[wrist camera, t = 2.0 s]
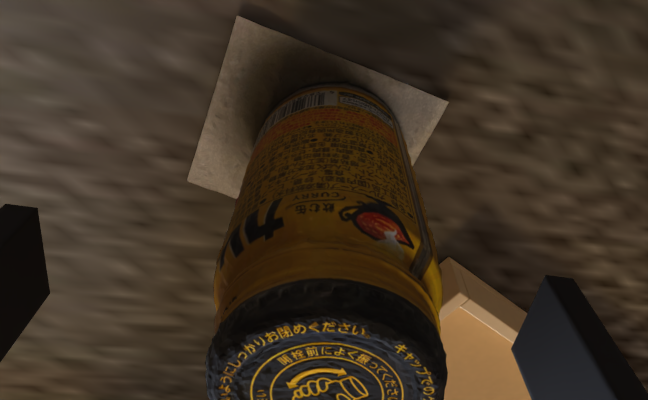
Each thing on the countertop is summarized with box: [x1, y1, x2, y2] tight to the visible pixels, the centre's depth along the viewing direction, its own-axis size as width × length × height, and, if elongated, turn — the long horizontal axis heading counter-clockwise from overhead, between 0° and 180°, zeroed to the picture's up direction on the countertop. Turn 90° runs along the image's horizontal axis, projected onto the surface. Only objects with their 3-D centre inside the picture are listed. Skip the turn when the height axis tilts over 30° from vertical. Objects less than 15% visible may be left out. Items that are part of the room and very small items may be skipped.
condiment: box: [187, 16, 449, 400], centre depth 16 cm, size 7×8×12 cm
